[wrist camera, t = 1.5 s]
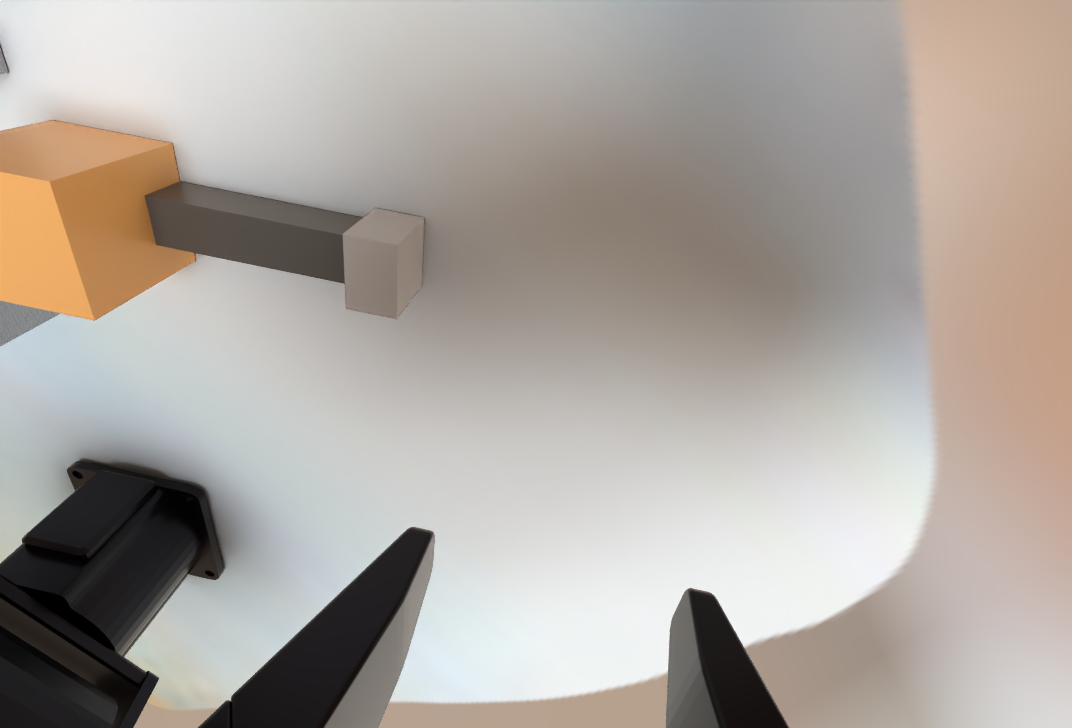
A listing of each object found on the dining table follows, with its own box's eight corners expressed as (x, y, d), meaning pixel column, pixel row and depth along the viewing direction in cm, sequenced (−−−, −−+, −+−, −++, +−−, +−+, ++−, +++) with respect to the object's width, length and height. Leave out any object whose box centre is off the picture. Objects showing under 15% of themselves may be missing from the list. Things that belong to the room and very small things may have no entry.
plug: (425, 192, 18) (367, 245, 14) (421, 306, 20) (369, 378, 16) (52, 120, 18) (-100, 152, 14) (89, 238, 20) (-36, 293, 17)
